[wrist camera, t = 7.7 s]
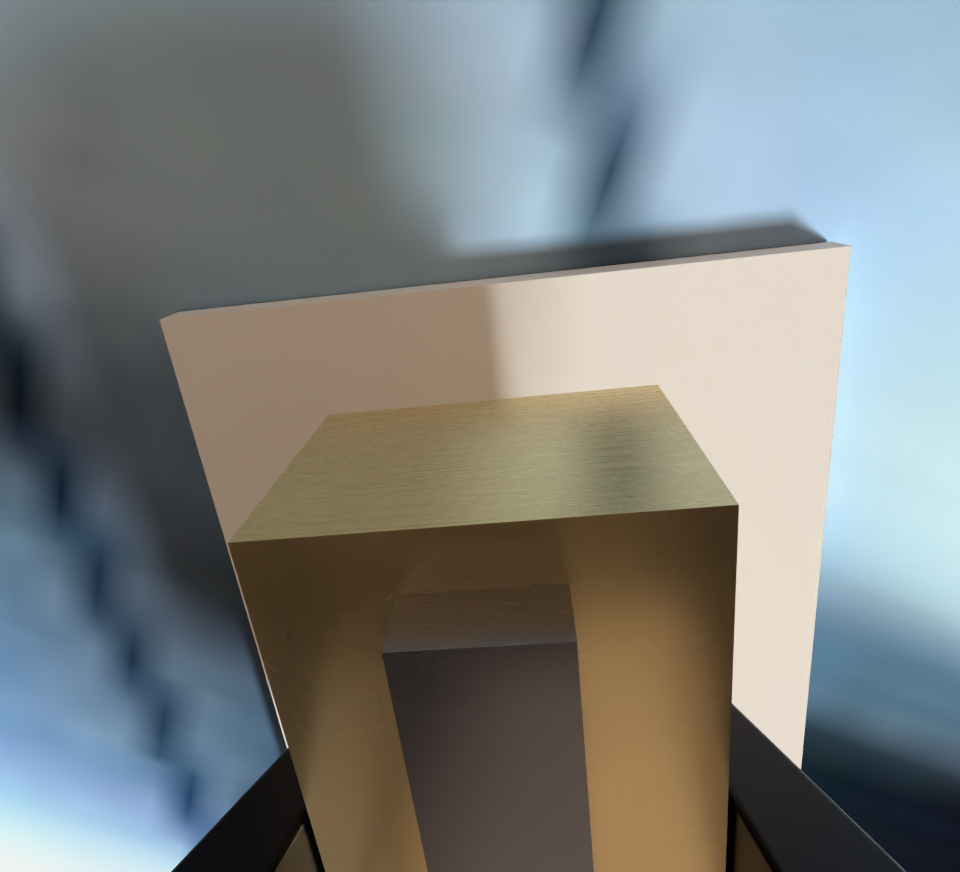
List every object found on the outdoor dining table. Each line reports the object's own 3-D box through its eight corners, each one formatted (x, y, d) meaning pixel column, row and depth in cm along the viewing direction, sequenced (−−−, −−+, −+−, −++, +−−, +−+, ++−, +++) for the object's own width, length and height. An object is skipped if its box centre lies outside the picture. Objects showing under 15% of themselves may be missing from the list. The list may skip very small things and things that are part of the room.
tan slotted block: (423, 858, 11) (380, 1171, 7) (327, 414, 8) (187, 595, 5) (664, 852, 11) (735, 1178, 7) (658, 384, 8) (772, 556, 4)
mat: (309, 770, 14) (301, 795, 13) (178, 311, 10) (158, 320, 10) (788, 751, 13) (800, 778, 13) (830, 241, 9) (850, 246, 9)
